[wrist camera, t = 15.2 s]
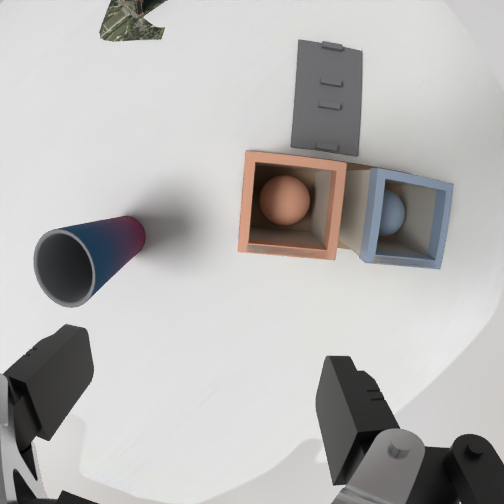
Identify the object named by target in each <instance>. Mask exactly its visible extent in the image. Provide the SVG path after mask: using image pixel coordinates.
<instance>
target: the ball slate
mask: <svg viewBox="0 0 504 504" xmlns="http://www.w3.org/2000/svg"><path fill="white" fill-rule="evenodd" d="M404 218H405V208H404V204H403V202H402V200H401V199H400V197H399V196H398V195H397V194H395V193H394V192H392V191H390V190H387V189H384V196H383V205H382V212H381V220H380V227H379V234H378V236H388V235H391V234H393V233H395V232H396V231H398V230H399V228H400V227H401V226H402V224H403V222H404Z"/></svg>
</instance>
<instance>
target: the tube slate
mask: <svg viewBox="0 0 504 504" xmlns="http://www.w3.org/2000/svg"><path fill="white" fill-rule="evenodd" d="M385 182H387V183H392V184H398V185H402V194H401V200H402V202H403V204H404V208H405V218H404V222H403V224H402V226H401V227H400V228H399V230H398V231H396V238H395V240H386V239H378V234H379V227H380V220H381V212H382V205H383V196H384V187H385ZM452 193H453V184H451V183H447V182H443V181H439V180H434V179H430V178H426V177H421V176H416V175H412V174H407V173H402V172H397V171H391V170H386V169H381V168H370V170H352V171H346V179H345V189H344V198H343V207H342V216H341V224H340V231H339V239H338V240H340V241H341V242H342V243H344V244H345V245H346V246H347V247H349V248H350V249H351V250H352V251H354V252H355V253H356V254H357V255H359V258H360V259H361V260H363V261H364V262H365V263H372V264H384V265H396V266H408V267H420V268H431V269H440V268H441V263H442V258H443V253H444V248H445V242H446V236H447V230H448V224H449V217H450V209H451V202H452Z"/></svg>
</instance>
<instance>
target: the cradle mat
mask: <svg viewBox="0 0 504 504" xmlns="http://www.w3.org/2000/svg"><path fill="white" fill-rule="evenodd" d="M361 87H362V51H360V50H355V49H351V48H346V47H342V45H341V44H336V43H330V42H325V41H323V42H322V43H319V42H313V41H306V40H298V55H297V71H296V85H295V99H294V112H293V124H292V136H291V147H294V148H303V149H311V150H318V151H325V152H332V153H339V154H345V155H352V156H358V145H359V130H360V113H361Z"/></svg>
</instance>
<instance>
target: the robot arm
mask: <svg viewBox="0 0 504 504" xmlns="http://www.w3.org/2000/svg"><path fill="white" fill-rule="evenodd" d="M93 373H94V365H93V360H92V354H91V348H90V342H89V336H88V332H87V330H86V329H85V328H82V327H77V326H72V325H68V324H66V325H64V326H63V327H61V328H60V329H59V330H58V331H57V332H56V333H55V334H53V335H51V336H49V337H46V338H44V339H42V340H40V341H39V342H38V343H37V344H36V345H35V346H33V347H32V349H30V350H29V351H28V352H27V353H26V355H23V356H22V357H21V358H20V359H19V360H18V361H16V362H15V363H14V364H13V365H12V366H11V367H10V368H9V369H8V370H7V371H5V372H4V373H3V374H1V373H0V504H98V503H95V502H92V501H89V500H87V499H84V498H81V497H79V496H76V495H73V494H71V493H68V492H66V491H62V492H61V494H60V496H59V498H58V499H48V497H47V495H46V493H45V490H44V487H43V482H42V478H41V473H40V469H39V464H38V459H37V453H36V448H35V444H34V442H33V439H34V438H35V437H36V436H38V437H40V438H42V439H45V440H47V441H50V439H51V438H52V436H53V435H54V433H55V432H56V430H57V429H58V428H59V426H60V425H61V423H62V422H63V420H64V419H65V417H66V416H67V415H68V413H69V412H70V410H71V409H72V408H73V406H74V405H75V403H76V402H77V401H78V399H79V398H80V396H81V395H82V394H83V392H84V391H85V389H86V388H87V387H88V385H89V384H90V382H91V381H92V378H93ZM316 412H317V417H318V421H319V425H320V429H321V434H322V438H323V442H324V447H325V451H326V456H327V460H328V464H329V469H330V473H331V478H332V483H333V485H345V484H346V487H345V488H343V489H342V490H341V491H340V493H339V494H338V495H337V496H336V498H335V499H334V501H333V502H332V503H331V504H459V502H461V504H504V464H503V462H502V461H501V459H500V458H499V456H498V454H497V453H496V451H495V449H494V448H493V446H492V445H491V444H490V443H489V442H488V441H487V440H486V439H485V438H483V437H481V436H478V435H474V434H465V435H461V436H460V437H458V438H457V439H456V440H455V441H454V443H453V444H452V446H451V447H450V448H440V447H427V446H424V443H423V442H422V440H421V439H420V438H419V437H418V436H417V435H415V434H414V433H412V432H410V431H407V430H404V429H400V427H399V425H398V423H397V421H396V419H395V417H394V415H393V413H392V411H391V410H390V408H389V406H388V404H387V402H386V400H384V396H383V394H382V392H380V389H379V387H378V385H377V383H376V381H375V379H373V378H372V377H371V376H370V375H369V374H367V373H366V372H365V371H357V369H356V367H355V365H354V363H353V361H352V359H351V357H350V356H327V357H326V358H325V361H324V364H323V369H322V373H321V377H320V381H319V386H318V390H317V394H316Z"/></svg>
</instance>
